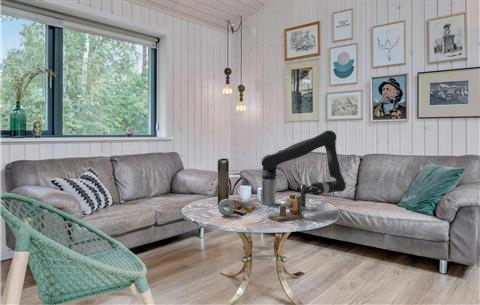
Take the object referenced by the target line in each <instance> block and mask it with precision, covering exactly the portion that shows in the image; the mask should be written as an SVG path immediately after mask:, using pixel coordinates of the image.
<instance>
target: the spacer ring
mask: <svg viewBox="0 0 480 305" xmlns="http://www.w3.org/2000/svg"><path fill="white" fill-rule="evenodd" d="M289 201H292V202H293V208H292V207H291V205H290V206H285V207H286V210H289V211H290V210H293V211H297V206H298V200H296V198H295V199H290V197H288V198H286V202H289Z"/></svg>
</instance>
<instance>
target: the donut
mask: <svg viewBox="0 0 480 305" xmlns="http://www.w3.org/2000/svg"><path fill="white" fill-rule="evenodd" d="M226 205H228V209H225V206H226ZM217 209H218V210H217V211H218V213H220V214H221V215H222V216H225V217H227V216H228V217H229V216H231V215H232V214H233V213H234V212H235V210H236V204H235V202H234V201H233V200H232V199H231V198H229V199H223V200H222V201H221V202H220V203H219V205H218V204H217Z"/></svg>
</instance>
